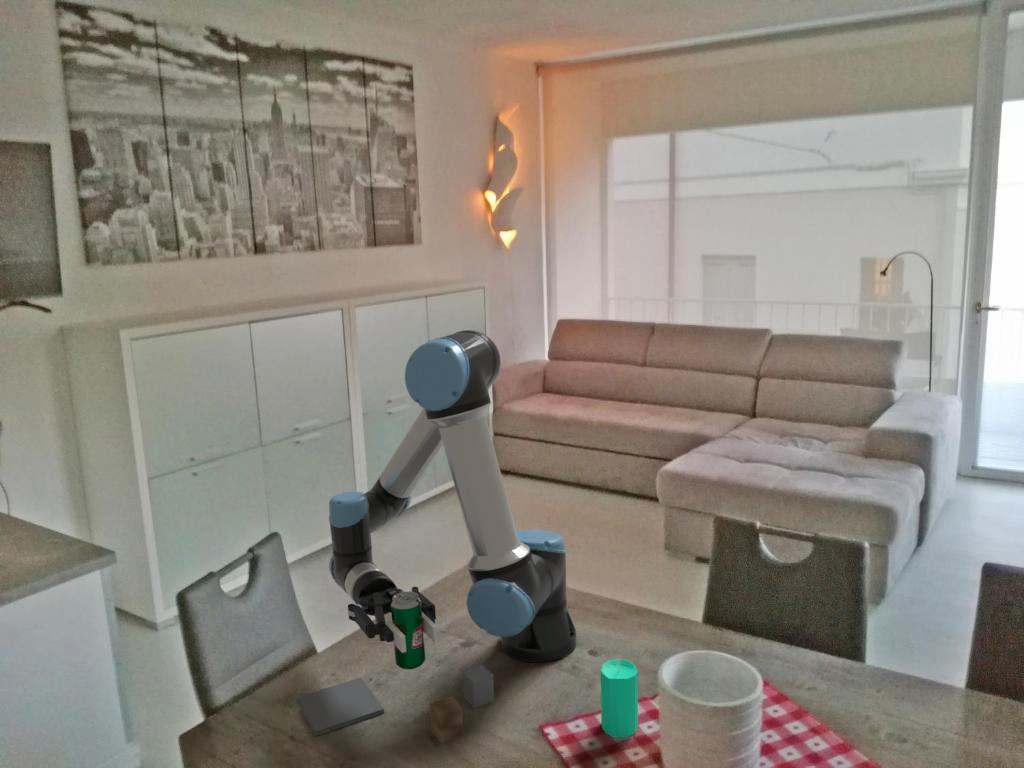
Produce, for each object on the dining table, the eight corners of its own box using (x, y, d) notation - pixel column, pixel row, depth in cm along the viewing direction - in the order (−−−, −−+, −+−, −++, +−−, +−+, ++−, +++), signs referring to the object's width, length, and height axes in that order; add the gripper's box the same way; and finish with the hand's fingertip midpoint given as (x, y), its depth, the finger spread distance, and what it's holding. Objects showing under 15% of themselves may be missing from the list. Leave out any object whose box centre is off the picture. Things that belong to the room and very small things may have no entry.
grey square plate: (361, 681, 153) (360, 677, 153) (384, 712, 143) (383, 708, 143) (297, 701, 147) (296, 697, 147) (316, 735, 137) (315, 731, 137)
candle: (614, 711, 141) (613, 647, 138) (644, 724, 137) (644, 658, 134) (594, 728, 136) (593, 662, 134) (625, 742, 132) (624, 674, 130)
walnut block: (453, 722, 139) (451, 696, 138) (463, 735, 136) (461, 707, 135) (431, 730, 137) (429, 703, 136) (441, 743, 134) (439, 715, 133)
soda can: (420, 671, 136) (415, 604, 134) (391, 670, 137) (385, 603, 135) (429, 656, 141) (424, 591, 139) (401, 654, 142) (396, 589, 140)
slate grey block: (483, 690, 149) (482, 665, 148) (494, 700, 145) (493, 675, 144) (464, 697, 147) (462, 671, 146) (474, 707, 143) (472, 681, 142)
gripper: (417, 595, 159) (471, 645, 138) (325, 621, 150) (369, 677, 130) (414, 559, 157) (468, 603, 137) (322, 582, 149) (364, 633, 129)
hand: (419, 639), depth 134 cm, fingers closed on soda can, 5 cm apart
